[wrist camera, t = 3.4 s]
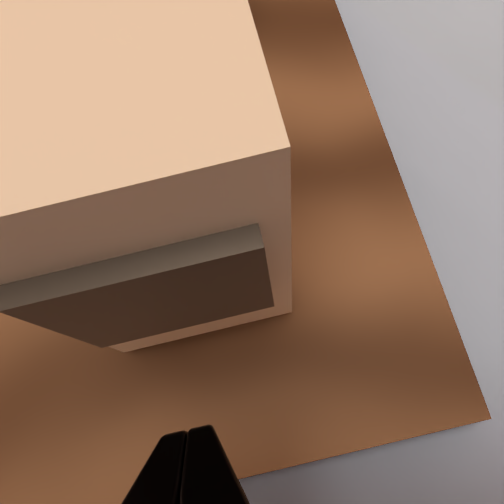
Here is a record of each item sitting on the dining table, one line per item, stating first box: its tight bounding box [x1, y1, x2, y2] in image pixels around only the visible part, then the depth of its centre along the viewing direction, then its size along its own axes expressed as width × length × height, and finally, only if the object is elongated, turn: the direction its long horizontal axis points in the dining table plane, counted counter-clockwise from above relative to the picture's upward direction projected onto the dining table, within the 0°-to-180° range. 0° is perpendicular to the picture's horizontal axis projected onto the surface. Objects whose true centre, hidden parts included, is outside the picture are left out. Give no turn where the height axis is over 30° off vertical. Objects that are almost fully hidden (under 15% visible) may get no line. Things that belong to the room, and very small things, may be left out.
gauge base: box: [0, 0, 491, 504], centre depth 14 cm, size 18×16×8 cm
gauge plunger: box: [0, 0, 292, 352], centre depth 10 cm, size 4×8×9 cm, turn 103°
